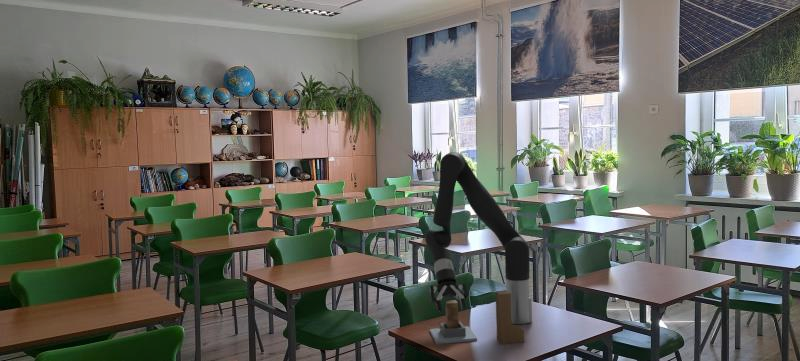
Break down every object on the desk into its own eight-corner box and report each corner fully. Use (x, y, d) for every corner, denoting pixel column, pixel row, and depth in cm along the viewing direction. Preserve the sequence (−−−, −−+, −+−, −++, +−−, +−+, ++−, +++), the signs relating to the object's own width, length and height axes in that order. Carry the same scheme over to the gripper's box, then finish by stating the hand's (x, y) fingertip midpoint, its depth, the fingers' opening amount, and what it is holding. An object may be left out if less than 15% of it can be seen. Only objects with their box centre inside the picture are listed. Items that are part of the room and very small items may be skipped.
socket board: (468, 328, 227) (468, 318, 227) (477, 340, 214) (476, 330, 213) (429, 331, 226) (429, 321, 225) (436, 344, 212) (435, 333, 212)
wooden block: (520, 338, 215) (519, 289, 213) (524, 342, 210) (523, 292, 209) (496, 340, 214) (495, 291, 212) (500, 344, 209) (498, 294, 208)
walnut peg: (456, 331, 222) (455, 299, 221) (458, 334, 218) (457, 302, 217) (446, 332, 222) (445, 300, 221) (448, 335, 218) (447, 303, 217)
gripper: (427, 269, 227) (434, 306, 216) (463, 266, 229) (472, 303, 218) (426, 279, 233) (432, 316, 222) (461, 277, 234) (469, 313, 224)
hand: (451, 310), depth 220 cm, fingers open, 8 cm apart
